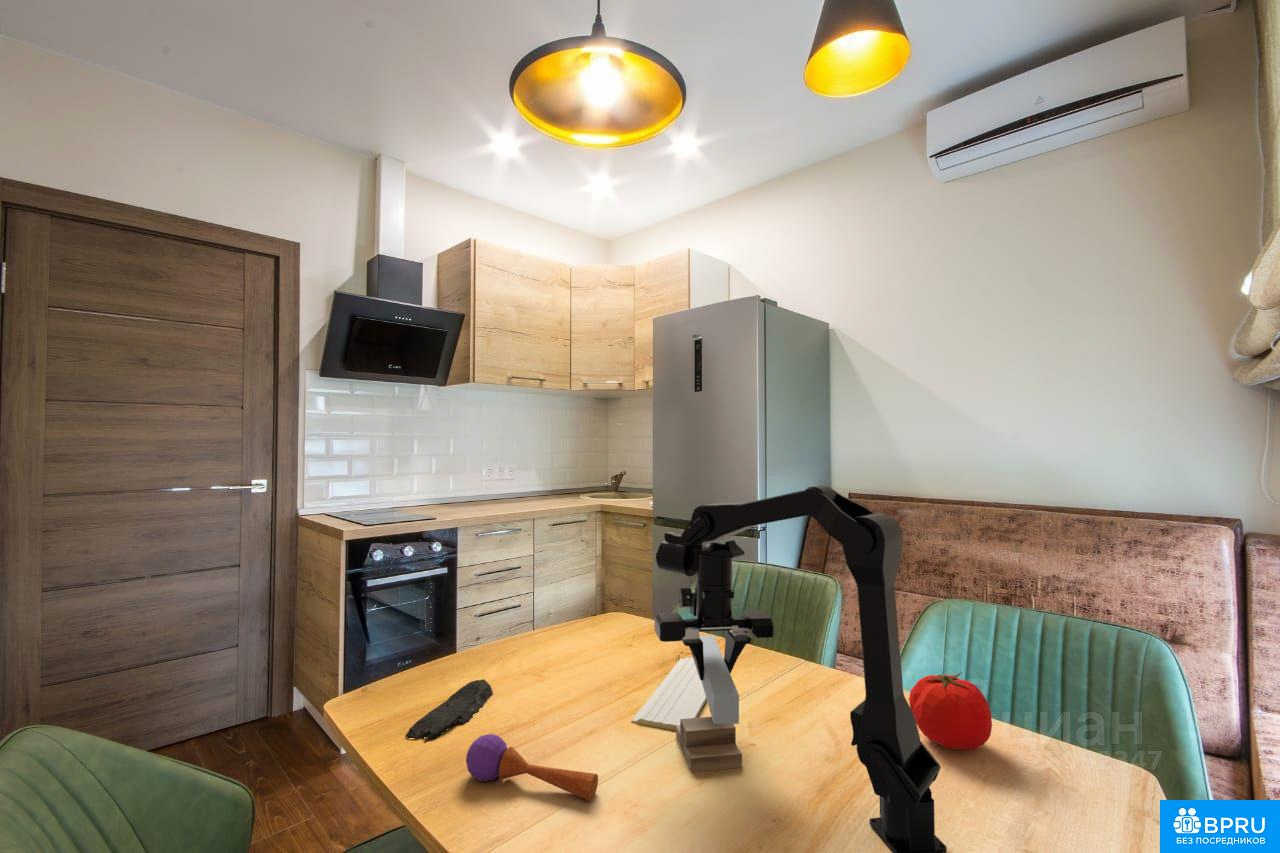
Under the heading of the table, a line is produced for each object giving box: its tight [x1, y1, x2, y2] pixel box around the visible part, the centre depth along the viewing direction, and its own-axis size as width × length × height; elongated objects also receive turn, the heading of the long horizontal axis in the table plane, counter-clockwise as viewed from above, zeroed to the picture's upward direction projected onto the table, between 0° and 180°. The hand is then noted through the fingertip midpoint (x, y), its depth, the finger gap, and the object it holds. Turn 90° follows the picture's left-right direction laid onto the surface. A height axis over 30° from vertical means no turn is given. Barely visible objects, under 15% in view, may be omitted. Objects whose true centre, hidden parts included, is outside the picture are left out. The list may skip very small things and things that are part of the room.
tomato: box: [908, 671, 993, 751], centre depth 92 cm, size 12×12×11 cm
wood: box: [405, 679, 494, 743], centre depth 102 cm, size 22×7×3 cm, turn 164°
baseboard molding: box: [631, 651, 724, 731], centre depth 112 cm, size 31×3×12 cm
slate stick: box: [699, 635, 740, 725], centre depth 90 cm, size 24×4×4 cm, turn 1°
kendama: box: [465, 733, 599, 803], centre depth 80 cm, size 6×6×20 cm
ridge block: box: [675, 716, 743, 773], centre depth 89 cm, size 10×8×4 cm
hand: (713, 678), depth 90 cm, fingers closed on slate stick, 4 cm apart
